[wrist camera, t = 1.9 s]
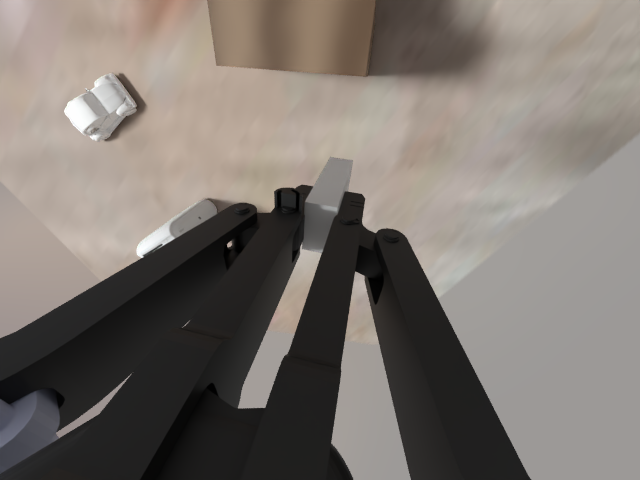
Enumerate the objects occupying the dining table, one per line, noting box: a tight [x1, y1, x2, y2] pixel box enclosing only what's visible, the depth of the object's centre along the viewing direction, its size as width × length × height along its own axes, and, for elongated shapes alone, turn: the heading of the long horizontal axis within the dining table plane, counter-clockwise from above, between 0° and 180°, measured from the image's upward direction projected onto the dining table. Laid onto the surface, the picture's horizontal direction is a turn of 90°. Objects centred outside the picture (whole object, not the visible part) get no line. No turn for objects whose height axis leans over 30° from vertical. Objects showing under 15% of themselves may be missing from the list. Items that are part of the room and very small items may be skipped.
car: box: [64, 73, 137, 142], centre depth 39 cm, size 12×6×5 cm, turn 117°
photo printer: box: [137, 199, 218, 258], centre depth 44 cm, size 10×4×12 cm, turn 122°
